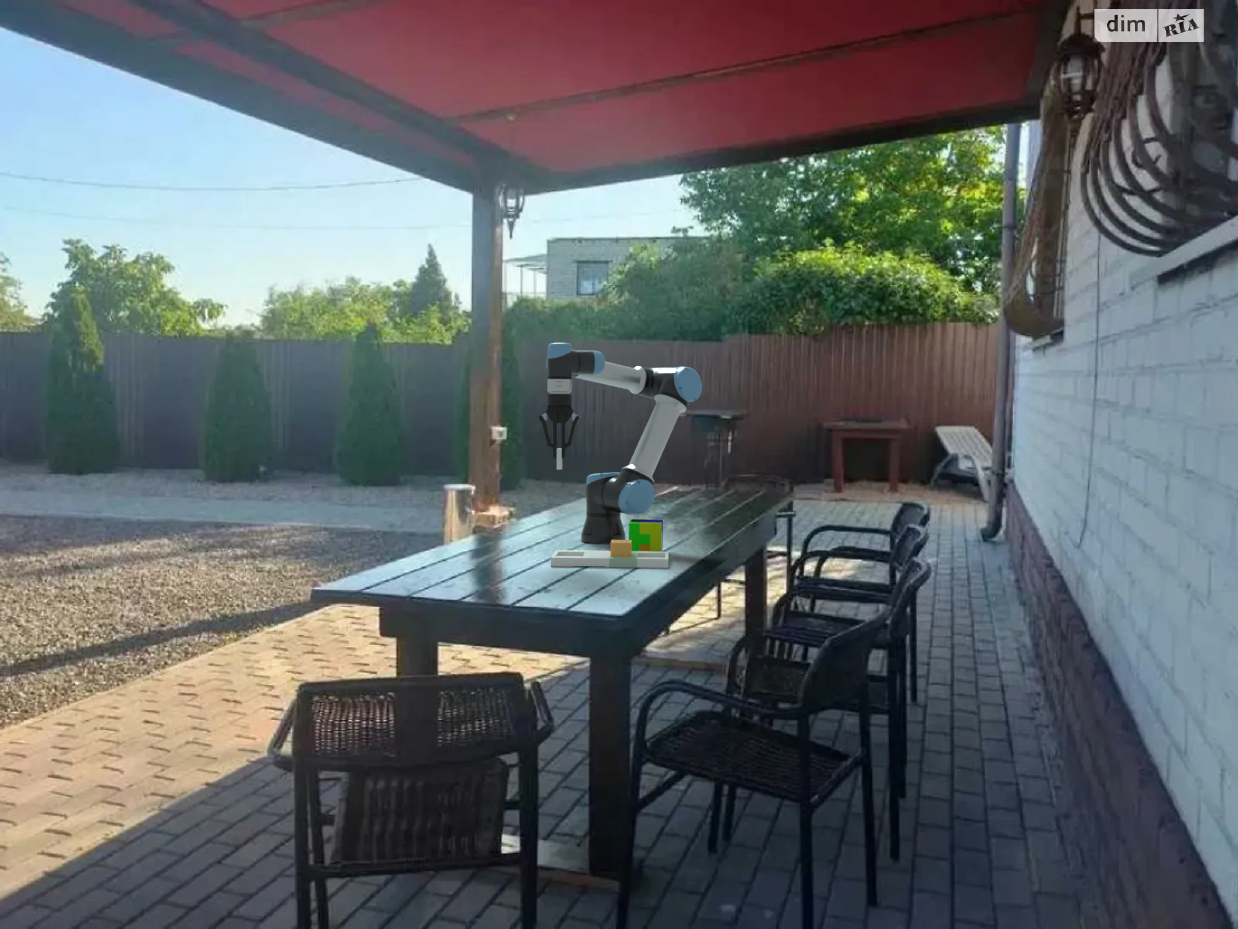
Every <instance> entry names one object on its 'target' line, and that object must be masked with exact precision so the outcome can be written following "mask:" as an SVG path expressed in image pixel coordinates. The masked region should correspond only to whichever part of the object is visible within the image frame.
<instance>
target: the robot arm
mask: <svg viewBox="0 0 1238 929" xmlns="http://www.w3.org/2000/svg"><path fill="white" fill-rule="evenodd" d="M545 368H546V370H547V393H548V394H547V407H546V410H545V413H543V414H542V415H539V416H538V419H539V422H541V424H542V428H543V432H544V433H543V434H544V436H545V440H546V445H547V446H548V447H551V448H552V457H553V460H554V459H556V470H557V471H559V470H563V459H564V460H565V459H566V457H567V453H566V452H567V448H568V447H571V446H572V444H573V440H574V437H575V432H576V428H577V425H578V423H579V421H580V420H581V415H577V414H576V413H575V412H574V409H573V404H572V403H573V397H572V396H573V395H572V394H571V393H572V390H573V378H575V379H579V380H584V381H589V382H593V383H598V384H602V385H607V386H611V387H616V388H620V389H624V390H628V391H629V392H630V393H631V394H633V395H637V396H641V397H643V398H644V397H645V398H648V399H652V400H655V403H656V404H655V406H654V408H653V410H652V412H651V415H650V416H649V419H648V421H647V423H646V425H645V428H644V430H643V432H642V435H641V437H640V439H639V441H638V443H637V445H636V447H635V449H634V453H633V455H632V456H631V459H630V461H629V464H628V465H626V466H624V467H622V468H621V470H620V472H615V471H614V472H603V473H599V472H598V473H592V474H589V475H588V476H587V477H586V482H585V483H586V484H585V490H586V492H585V493H586V494H585V495H586V498H585V500H586V502H585V503H586V509H585V511H586V514H585V515H586V517H585V522H584V525H583V527H582V531H581V534H580V541H581V542H583V543H589V544H590V543H591V544H611V540H627V539H626V538H627V535H626V532H625V528H624V525H623V522H622V519H621V518H622V516H621V514H625V515H628V516H632V515H633V516H635V515H642V514H644V513H646V512H647V511H648V510H650V509H651V507H652V505H653V503H654V501H655V497H656V494H655V493H654V492H655V488H654V483H655V480H654V478H653V475H654V472H655V470H656V468H657V466H658V463H659V461H660V459H661V457H662V454H663V452H664V450H665V448H666V446H667V444H668V441H669V439H670V436H671V434H672V432H673V430H674V428H675V425H676V423H677V421H678V418H679V415H680V414H683V413H685V412H686V411H687V409H688V406H689V404H690V403H692V402H695V401H697V400H698V399H699V398H700V397H701V394H702V389H703V384H702V383H703V382H702V380H701V377H700V375H699V372H697V371H696V370H695V369H694V368H692V367H688V366H683V365H681V366H666V367H665V366H664V367H663V366H660V367H645V366H641V365H640V366H639V365H638V366H635V367H631V366H626V365H621V364H618V363H613V362H610V361H606V358H605V355H604V354H603V353H602V352H601V351H600V350H594V349H592V350H583V349H582V350H579V349H578V350H576V349H573V345H572V344H571V343H569V342H551V343H549V344H548V346H547V355H546V359H545ZM548 418H549V420H550V422H552V438H551V434H550V430H549V426H548V422H547V421H548ZM570 419H571V420H572V423H571V428H570V431H569V434H568V440H567V423H568V422H569V420H570ZM559 423H560V424H561V426H560V428H561V429H560V430H561V431H560V432H561V436H560V438H561V439H560V440H561V447H559V444H558V443H559V440H558V439H559Z"/></svg>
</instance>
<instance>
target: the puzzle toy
mask: <svg viewBox="0 0 1238 929" xmlns="http://www.w3.org/2000/svg"><path fill="white" fill-rule="evenodd" d="M663 537H664V519H641V518H640V519H639V518H638V519H637V518H632V519H631V520H630V521H629V522H628V540H632V551H661V552H664V550H663V548H664V546H663V545H664V544H663V543H664V541H663V540H664V538H663Z"/></svg>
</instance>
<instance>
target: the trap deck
mask: <svg viewBox="0 0 1238 929" xmlns="http://www.w3.org/2000/svg"><path fill="white" fill-rule="evenodd" d="M551 565H552V566H551ZM550 566H551V567H573V566H605V567H604V568H647V569H648V568H649V569H651V568H656V569H657V568H658V569H660V568H661V569H664V568H665V569H668V568H669V551H662V552H661V551H632V554H631V557H621V556H610V550H583V549H581V550H578V549H574V550H573V549H568V550H567V549H556V550H555V551H554V552H553V553H552V555H551V557H550Z"/></svg>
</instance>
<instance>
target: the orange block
mask: <svg viewBox="0 0 1238 929" xmlns="http://www.w3.org/2000/svg"><path fill="white" fill-rule="evenodd" d="M609 551H610V556H621V557H631V554H632V540H629V539H626V540H611V543H610V550H609Z"/></svg>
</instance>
